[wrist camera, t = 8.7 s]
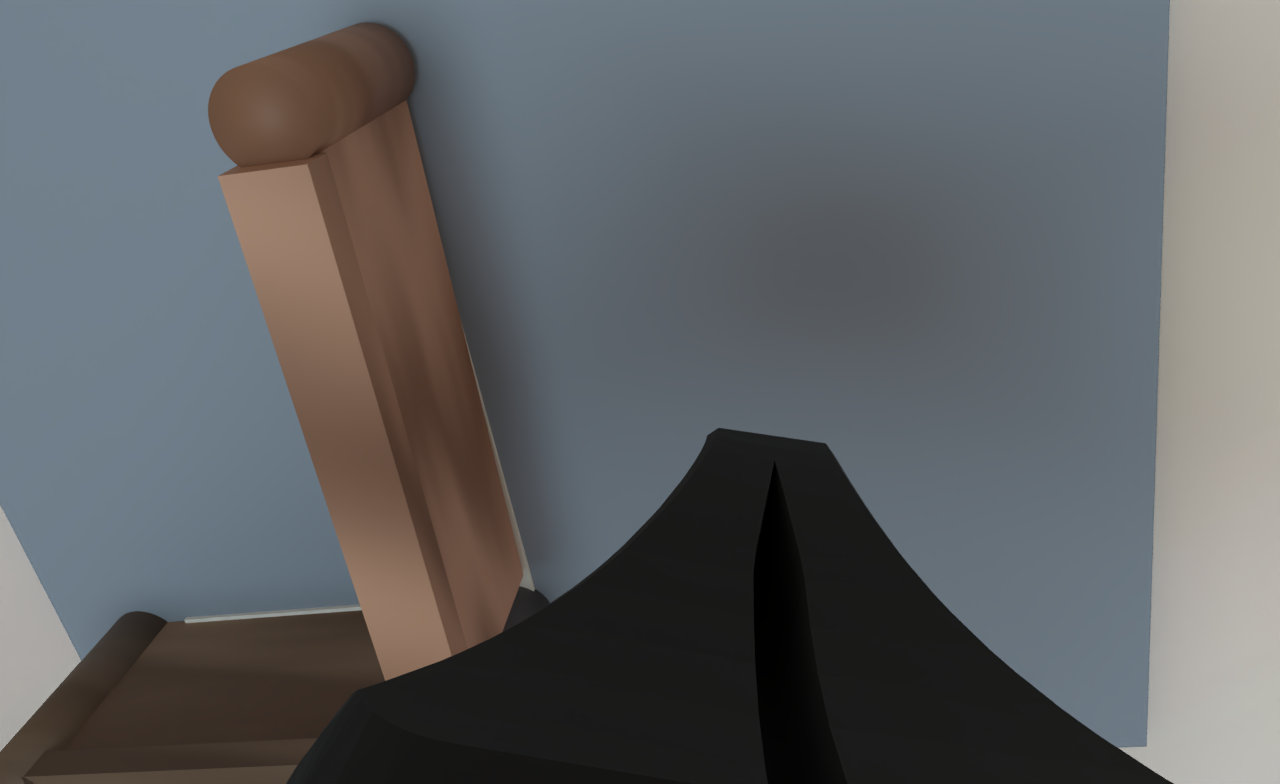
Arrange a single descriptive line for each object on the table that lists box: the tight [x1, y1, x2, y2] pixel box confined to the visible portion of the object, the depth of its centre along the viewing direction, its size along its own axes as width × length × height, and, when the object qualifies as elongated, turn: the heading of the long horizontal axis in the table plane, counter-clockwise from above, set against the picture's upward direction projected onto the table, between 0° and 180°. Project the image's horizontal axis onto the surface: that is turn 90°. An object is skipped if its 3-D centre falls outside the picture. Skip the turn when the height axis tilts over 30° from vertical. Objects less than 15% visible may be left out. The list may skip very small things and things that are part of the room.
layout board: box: [0, 0, 1170, 748], centre depth 22 cm, size 20×26×1 cm
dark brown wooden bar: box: [0, 586, 550, 784], centre depth 23 cm, size 2×12×5 cm, turn 101°
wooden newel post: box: [208, 23, 523, 681], centre depth 19 cm, size 12×2×5 cm, turn 9°
